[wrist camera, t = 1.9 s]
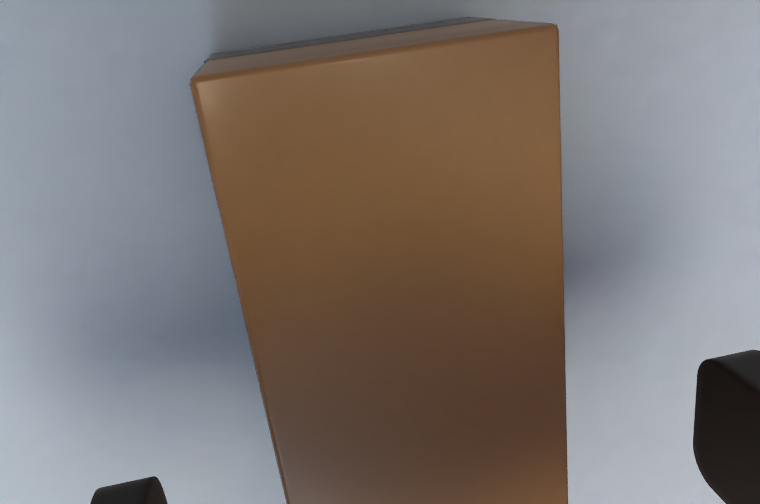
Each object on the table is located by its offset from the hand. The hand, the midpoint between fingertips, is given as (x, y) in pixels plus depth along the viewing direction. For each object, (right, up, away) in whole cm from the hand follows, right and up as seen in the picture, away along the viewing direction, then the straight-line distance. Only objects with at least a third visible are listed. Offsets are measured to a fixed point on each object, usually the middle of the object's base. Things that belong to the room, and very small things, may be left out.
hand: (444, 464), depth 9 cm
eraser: (-1, +2, +5) cm, 5 cm away
